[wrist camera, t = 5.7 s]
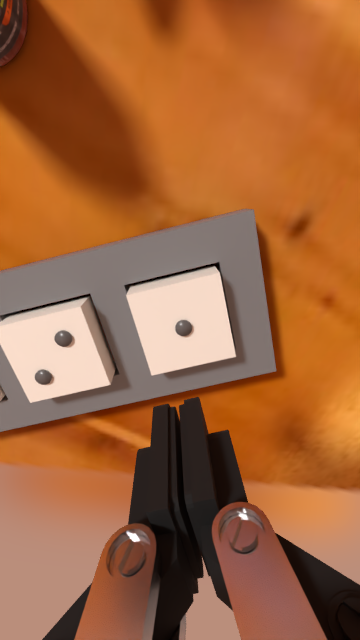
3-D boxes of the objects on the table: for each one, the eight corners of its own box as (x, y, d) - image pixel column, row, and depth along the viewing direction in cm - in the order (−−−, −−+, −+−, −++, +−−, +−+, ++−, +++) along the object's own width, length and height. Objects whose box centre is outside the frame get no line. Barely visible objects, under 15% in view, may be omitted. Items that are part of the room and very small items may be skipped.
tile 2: (90, 295, 21) (79, 307, 19) (116, 367, 23) (109, 386, 21) (10, 315, 22) (-10, 329, 19) (43, 384, 24) (28, 404, 21)
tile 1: (214, 265, 21) (220, 273, 18) (229, 341, 23) (236, 358, 20) (130, 285, 21) (125, 296, 19) (153, 359, 23) (151, 377, 21)
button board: (244, 208, 21) (253, 209, 19) (266, 355, 25) (276, 371, 23) (-143, 307, 23) (-179, 318, 21) (-61, 428, 27) (-83, 449, 25)
